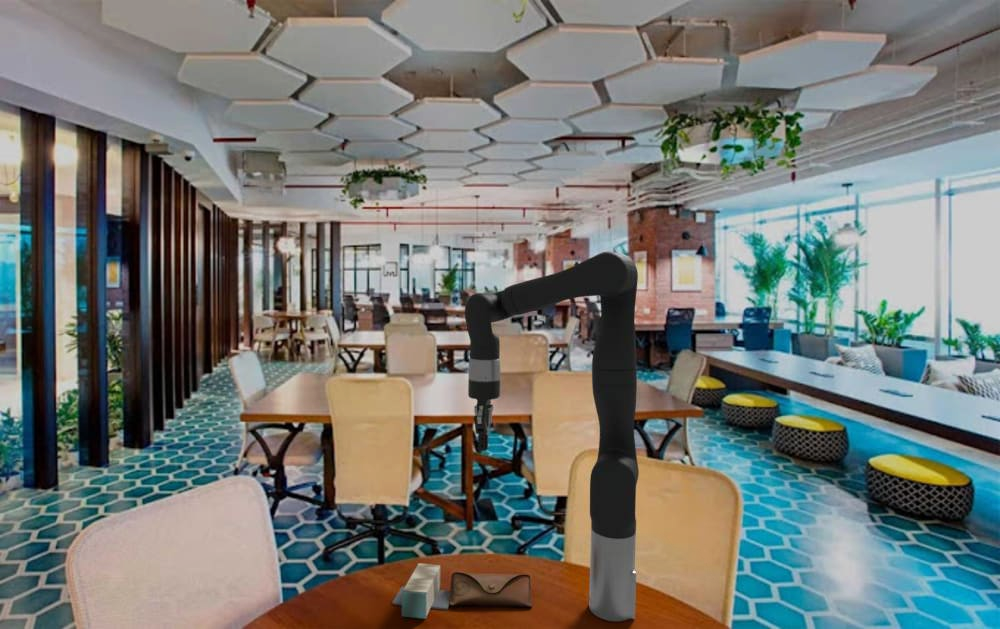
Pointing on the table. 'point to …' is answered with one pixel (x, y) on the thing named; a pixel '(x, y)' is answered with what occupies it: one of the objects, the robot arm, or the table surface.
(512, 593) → the sunglasses case
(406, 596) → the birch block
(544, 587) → the table surface
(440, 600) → the rubber mat
